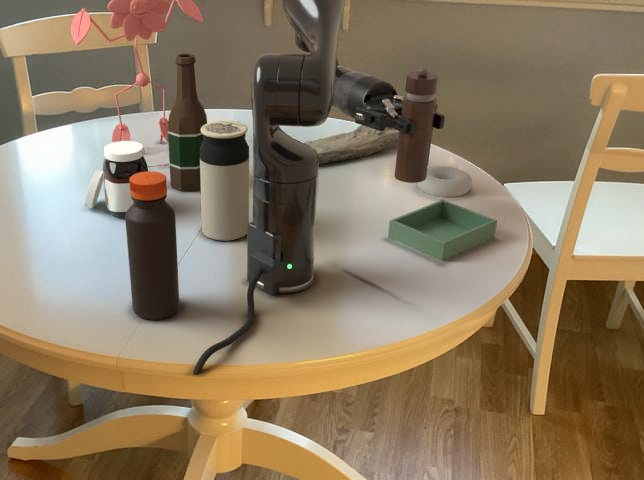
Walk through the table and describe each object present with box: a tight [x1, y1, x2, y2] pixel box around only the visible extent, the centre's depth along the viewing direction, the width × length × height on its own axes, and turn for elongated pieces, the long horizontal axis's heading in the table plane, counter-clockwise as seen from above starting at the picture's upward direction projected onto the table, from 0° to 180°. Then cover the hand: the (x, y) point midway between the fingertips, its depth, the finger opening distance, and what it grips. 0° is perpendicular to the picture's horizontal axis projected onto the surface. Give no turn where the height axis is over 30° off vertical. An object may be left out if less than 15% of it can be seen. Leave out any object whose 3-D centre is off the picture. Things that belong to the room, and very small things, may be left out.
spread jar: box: [84, 140, 149, 219], centre depth 149 cm, size 12×11×12 cm
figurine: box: [70, 0, 204, 168], centre depth 165 cm, size 15×26×35 cm, turn 111°
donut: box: [416, 165, 473, 198], centre depth 156 cm, size 10×4×10 cm
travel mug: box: [200, 120, 250, 242], centre depth 139 cm, size 8×8×18 cm
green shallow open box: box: [387, 199, 498, 262], centre depth 138 cm, size 13×11×4 cm
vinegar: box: [124, 170, 180, 321], centre depth 117 cm, size 7×7×20 cm
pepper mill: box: [393, 65, 439, 184], centre depth 135 cm, size 5×5×18 cm
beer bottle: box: [167, 53, 208, 192], centre depth 155 cm, size 8×8×24 cm
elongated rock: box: [303, 125, 399, 165], centre depth 174 cm, size 35×5×10 cm
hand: (427, 125), depth 133 cm, fingers closed on pepper mill, 5 cm apart
